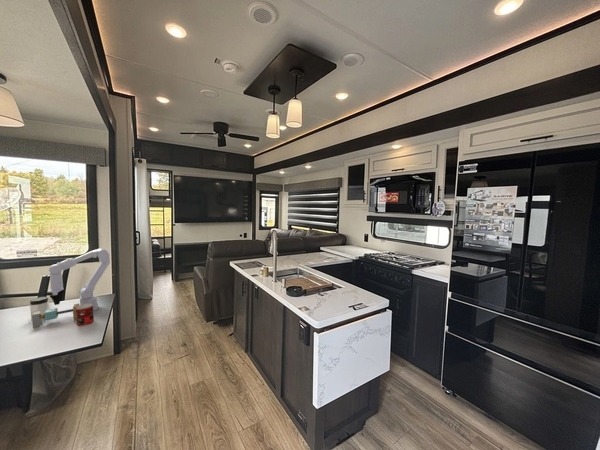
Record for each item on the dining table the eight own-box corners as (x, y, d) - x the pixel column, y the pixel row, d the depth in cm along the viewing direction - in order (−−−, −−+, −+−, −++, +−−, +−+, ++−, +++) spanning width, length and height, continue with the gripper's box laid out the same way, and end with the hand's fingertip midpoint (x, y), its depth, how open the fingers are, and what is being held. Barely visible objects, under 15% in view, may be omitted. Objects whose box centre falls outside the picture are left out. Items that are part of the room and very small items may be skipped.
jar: (27, 319, 158) (25, 301, 157) (38, 314, 166) (37, 296, 165) (42, 318, 159) (41, 300, 158) (53, 313, 167) (52, 296, 166)
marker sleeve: (58, 315, 157) (57, 308, 156) (56, 318, 153) (55, 310, 152) (47, 317, 154) (46, 310, 153) (45, 320, 150) (44, 312, 149)
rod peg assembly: (80, 314, 164) (79, 302, 164) (78, 319, 158) (77, 306, 157) (35, 323, 152) (34, 310, 151) (32, 328, 146) (31, 315, 145)
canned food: (74, 324, 151) (73, 307, 151) (90, 319, 159) (89, 302, 158) (80, 327, 148) (79, 309, 147) (96, 321, 155) (95, 304, 154)
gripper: (50, 281, 164) (52, 300, 165) (45, 286, 152) (47, 307, 153) (64, 279, 168) (66, 298, 169) (61, 284, 156) (62, 305, 158)
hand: (58, 302), depth 162 cm, fingers open, 7 cm apart
